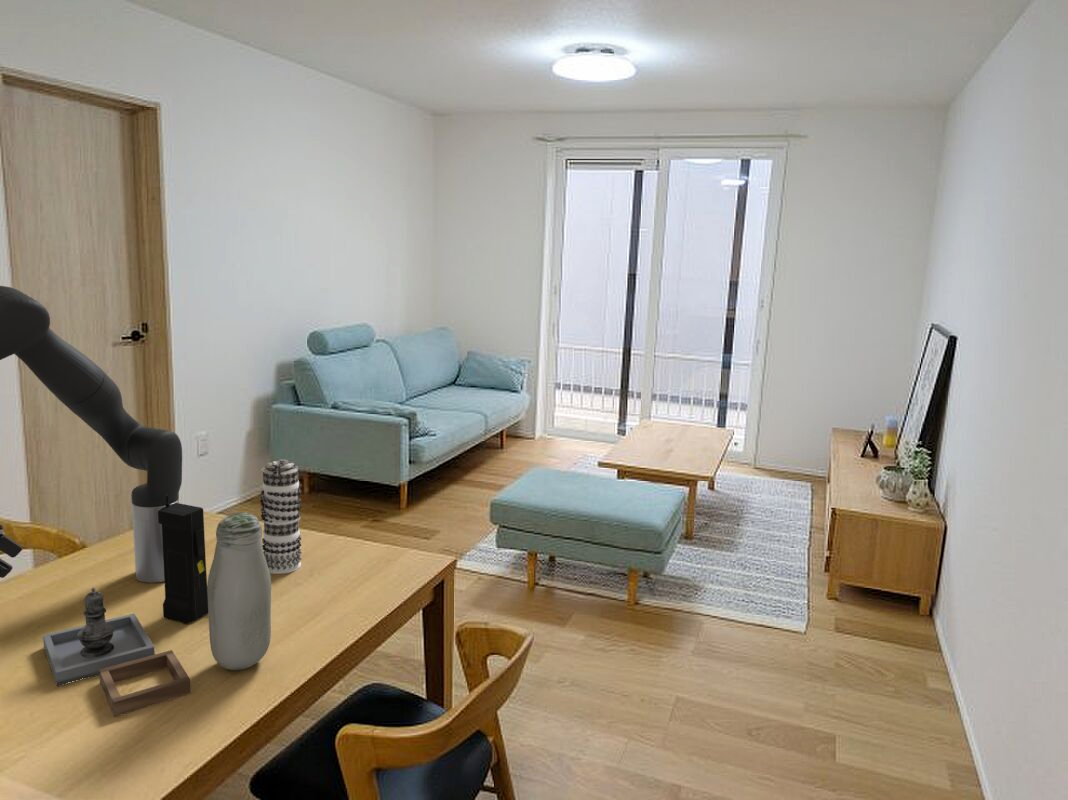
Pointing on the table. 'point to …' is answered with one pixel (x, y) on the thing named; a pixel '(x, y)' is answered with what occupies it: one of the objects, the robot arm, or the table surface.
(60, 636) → the grey tray
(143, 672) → the walnut collar
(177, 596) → the portable radio
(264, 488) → the decorative candle
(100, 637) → the dark grey chess piece
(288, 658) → the table surface
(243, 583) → the glass bottle
